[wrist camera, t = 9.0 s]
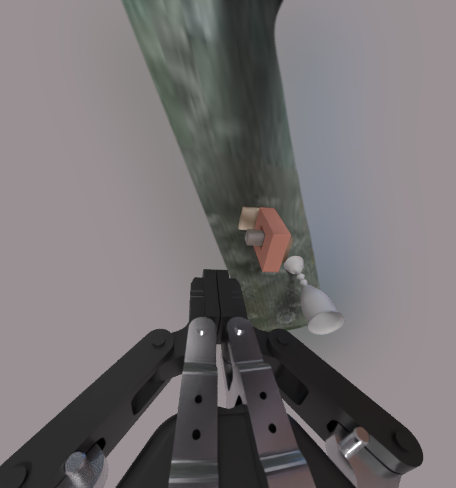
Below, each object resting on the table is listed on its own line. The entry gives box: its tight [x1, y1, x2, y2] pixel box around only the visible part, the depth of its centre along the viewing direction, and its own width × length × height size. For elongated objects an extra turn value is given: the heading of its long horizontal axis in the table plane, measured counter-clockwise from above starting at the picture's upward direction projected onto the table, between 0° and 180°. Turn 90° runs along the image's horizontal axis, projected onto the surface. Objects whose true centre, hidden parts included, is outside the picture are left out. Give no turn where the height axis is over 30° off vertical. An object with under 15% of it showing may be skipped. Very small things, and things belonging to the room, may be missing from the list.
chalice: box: [284, 256, 344, 334], centre depth 52 cm, size 7×7×18 cm
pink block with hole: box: [254, 207, 291, 272], centre depth 44 cm, size 8×3×10 cm, turn 172°
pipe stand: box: [238, 206, 293, 263], centre depth 45 cm, size 5×7×12 cm
